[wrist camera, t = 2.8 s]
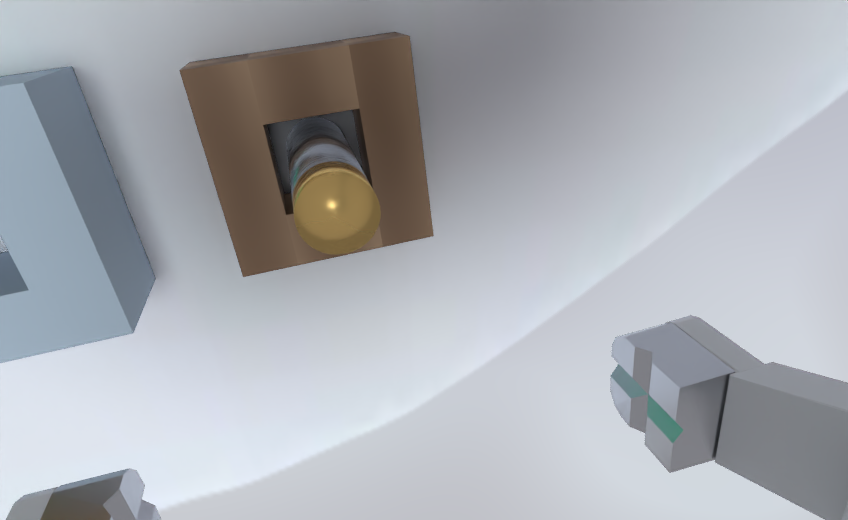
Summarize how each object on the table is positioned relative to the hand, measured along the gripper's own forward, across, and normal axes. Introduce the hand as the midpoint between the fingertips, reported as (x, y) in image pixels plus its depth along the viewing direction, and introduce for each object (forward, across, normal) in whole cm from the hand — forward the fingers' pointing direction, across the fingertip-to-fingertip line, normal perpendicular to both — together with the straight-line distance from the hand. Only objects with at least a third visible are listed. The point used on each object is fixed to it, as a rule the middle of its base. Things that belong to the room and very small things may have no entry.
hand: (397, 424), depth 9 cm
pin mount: (+19, 0, 0) cm, 19 cm away
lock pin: (+19, 0, 0) cm, 19 cm away
